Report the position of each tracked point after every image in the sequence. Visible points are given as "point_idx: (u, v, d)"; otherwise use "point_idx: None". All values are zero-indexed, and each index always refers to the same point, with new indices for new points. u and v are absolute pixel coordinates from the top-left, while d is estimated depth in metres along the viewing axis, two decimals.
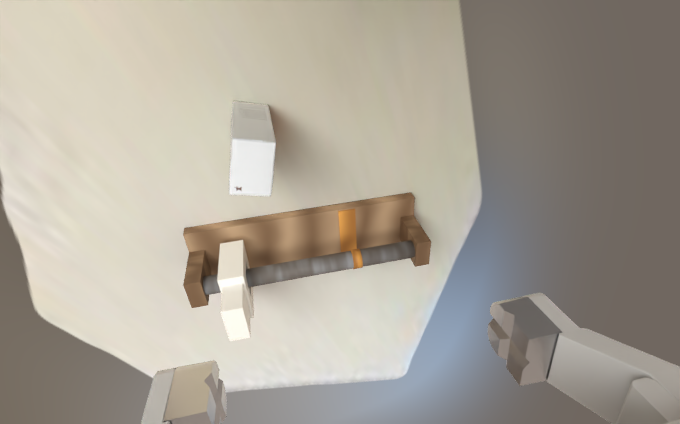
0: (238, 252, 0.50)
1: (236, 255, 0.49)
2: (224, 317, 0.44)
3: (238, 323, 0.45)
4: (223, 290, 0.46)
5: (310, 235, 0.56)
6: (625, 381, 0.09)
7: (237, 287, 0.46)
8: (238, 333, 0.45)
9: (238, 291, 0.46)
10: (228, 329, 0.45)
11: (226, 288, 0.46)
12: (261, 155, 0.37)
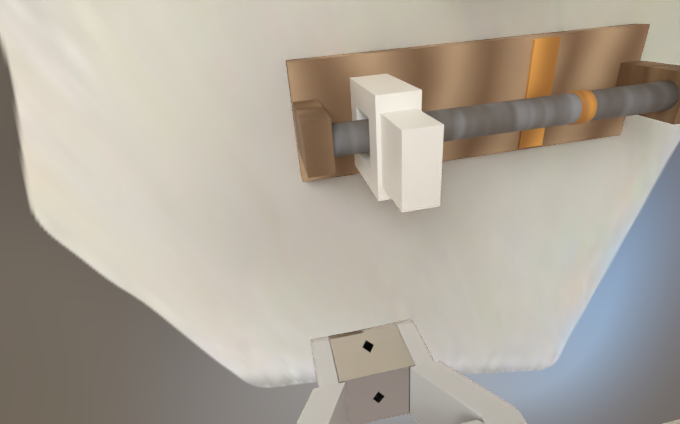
0: (389, 79, 0.28)
1: (389, 80, 0.28)
2: (405, 146, 0.21)
3: (426, 168, 0.22)
4: (386, 115, 0.24)
5: (483, 86, 0.34)
6: (465, 421, 0.09)
7: (411, 111, 0.24)
8: (421, 193, 0.23)
9: (418, 113, 0.24)
10: (406, 180, 0.22)
11: (390, 113, 0.24)
12: None
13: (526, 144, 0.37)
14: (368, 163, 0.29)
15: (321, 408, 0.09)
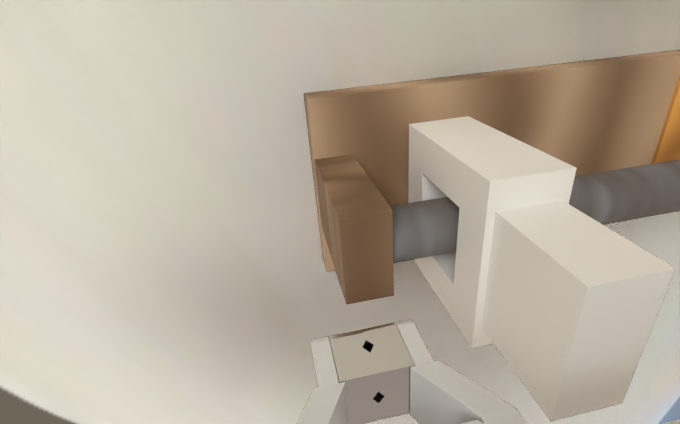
0: (484, 131, 0.17)
1: (486, 136, 0.16)
2: (587, 315, 0.10)
3: (617, 347, 0.10)
4: (513, 219, 0.12)
5: (601, 129, 0.22)
6: (465, 421, 0.09)
7: (558, 210, 0.12)
8: (595, 388, 0.11)
9: (577, 218, 0.12)
10: (572, 372, 0.11)
11: (518, 214, 0.12)
12: None
13: None
14: (445, 271, 0.17)
15: (321, 408, 0.09)
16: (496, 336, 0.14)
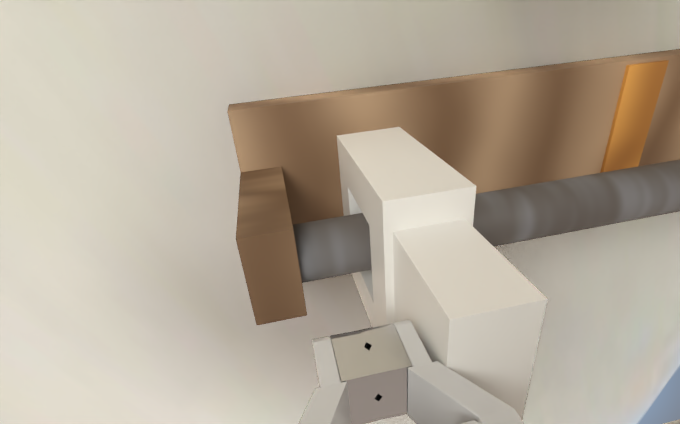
0: (406, 144, 0.16)
1: (405, 149, 0.15)
2: (457, 348, 0.09)
3: (499, 378, 0.10)
4: (406, 241, 0.12)
5: (544, 137, 0.22)
6: (462, 422, 0.09)
7: (456, 230, 0.12)
8: None
9: (472, 240, 0.11)
10: None
11: (414, 235, 0.12)
12: None
13: None
14: (369, 288, 0.17)
15: (323, 408, 0.09)
16: None
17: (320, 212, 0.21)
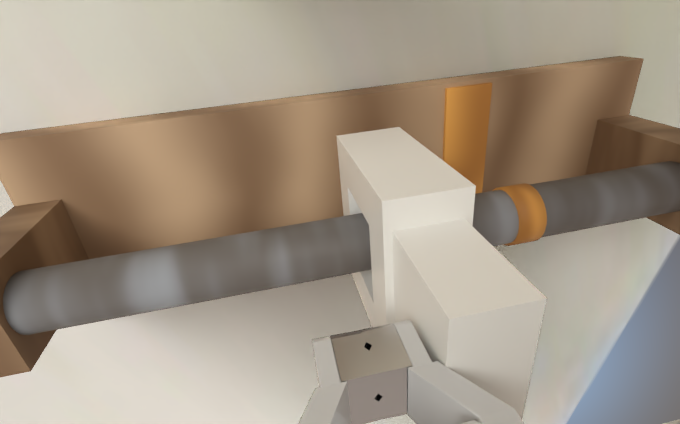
0: (405, 144, 0.16)
1: (404, 149, 0.15)
2: (456, 348, 0.09)
3: (499, 378, 0.10)
4: (406, 241, 0.12)
5: None
6: (462, 422, 0.09)
7: (455, 230, 0.12)
8: None
9: (471, 240, 0.11)
10: None
11: (414, 234, 0.12)
12: None
13: None
14: (369, 288, 0.17)
15: (323, 407, 0.09)
16: None
17: (121, 245, 0.20)
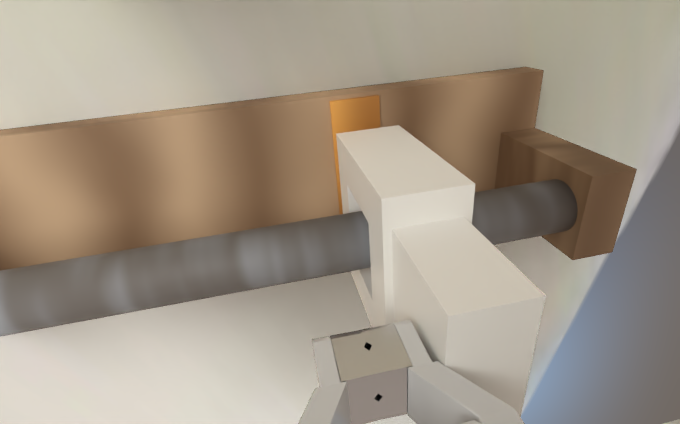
0: (405, 142, 0.16)
1: (404, 147, 0.15)
2: (455, 345, 0.09)
3: (497, 375, 0.10)
4: (405, 238, 0.12)
5: (252, 180, 0.20)
6: (462, 421, 0.09)
7: (455, 228, 0.12)
8: None
9: (470, 237, 0.11)
10: None
11: (413, 232, 0.12)
12: None
13: None
14: (368, 286, 0.17)
15: (323, 408, 0.09)
16: None
17: None
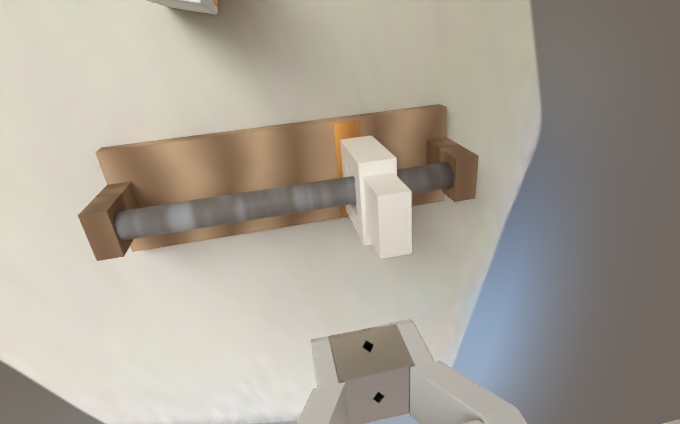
0: (372, 143, 0.34)
1: (372, 145, 0.33)
2: (381, 208, 0.27)
3: (399, 224, 0.28)
4: (367, 179, 0.29)
5: (293, 164, 0.37)
6: (465, 421, 0.09)
7: (388, 175, 0.30)
8: (396, 243, 0.28)
9: (393, 178, 0.29)
10: (382, 234, 0.28)
11: (371, 177, 0.30)
12: None
13: None
14: (355, 212, 0.34)
15: (321, 408, 0.09)
16: (369, 234, 0.31)
17: None
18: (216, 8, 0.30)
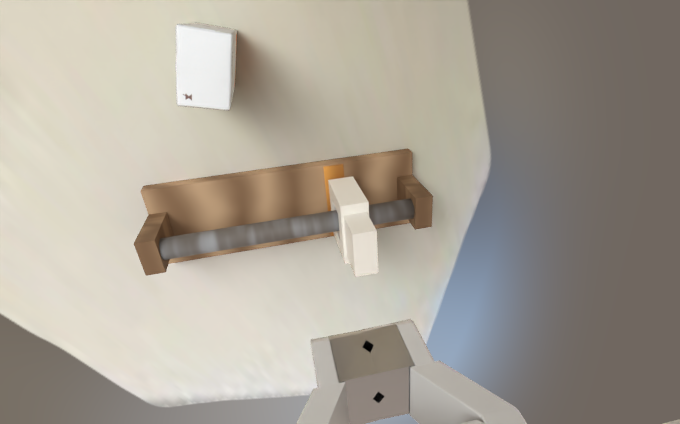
0: (352, 185, 0.44)
1: (351, 187, 0.44)
2: (355, 242, 0.37)
3: (368, 253, 0.38)
4: (347, 218, 0.40)
5: (291, 197, 0.48)
6: (465, 421, 0.09)
7: (362, 215, 0.40)
8: (366, 266, 0.39)
9: (365, 217, 0.40)
10: (356, 260, 0.38)
11: (349, 216, 0.40)
12: (214, 50, 0.30)
13: None
14: (339, 237, 0.45)
15: (321, 408, 0.09)
16: (348, 257, 0.42)
17: (187, 231, 0.47)
18: (234, 87, 0.41)
